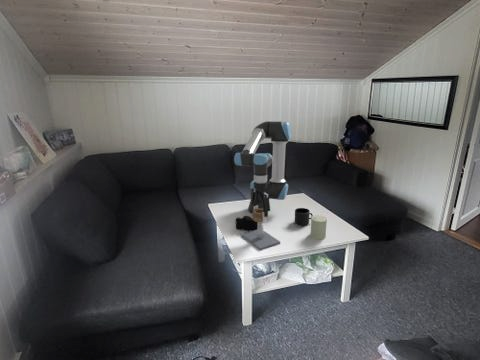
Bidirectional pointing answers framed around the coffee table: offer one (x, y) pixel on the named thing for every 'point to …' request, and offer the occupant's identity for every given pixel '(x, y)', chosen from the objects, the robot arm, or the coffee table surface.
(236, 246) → the coffee table surface
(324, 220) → the can
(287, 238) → the coffee table surface
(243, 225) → the film camera
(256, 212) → the collar
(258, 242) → the post board
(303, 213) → the mug
